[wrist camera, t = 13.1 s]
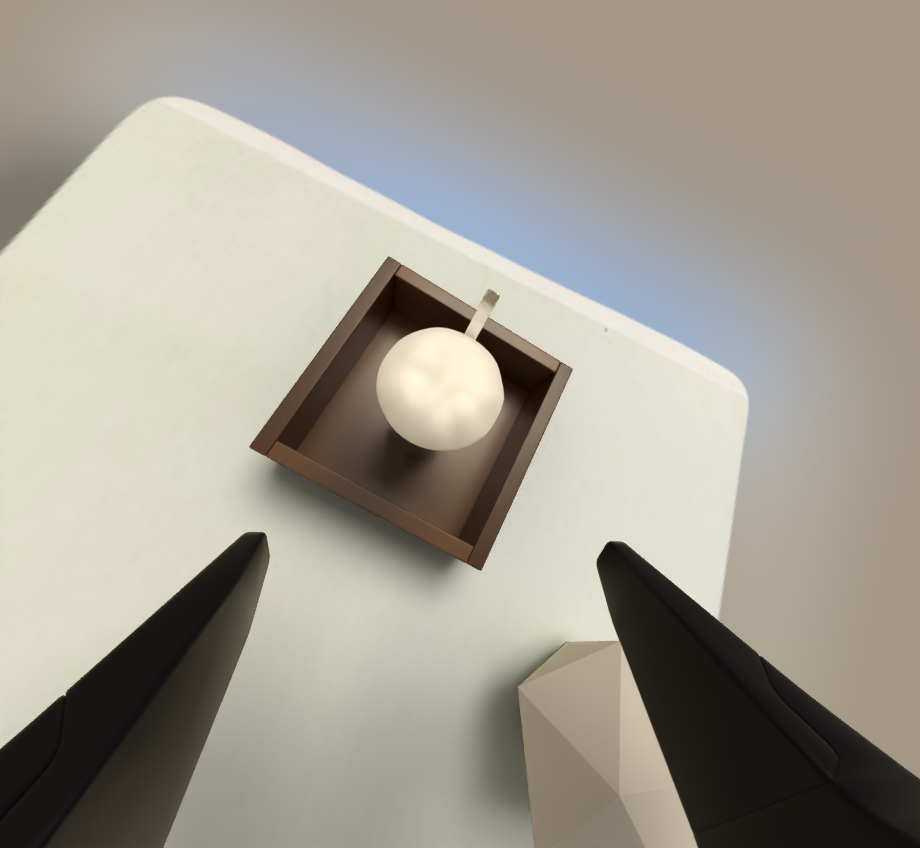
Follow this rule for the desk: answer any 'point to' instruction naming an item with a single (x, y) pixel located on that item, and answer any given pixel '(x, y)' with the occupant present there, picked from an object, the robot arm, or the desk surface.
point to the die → (595, 756)
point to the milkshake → (441, 387)
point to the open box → (368, 433)
